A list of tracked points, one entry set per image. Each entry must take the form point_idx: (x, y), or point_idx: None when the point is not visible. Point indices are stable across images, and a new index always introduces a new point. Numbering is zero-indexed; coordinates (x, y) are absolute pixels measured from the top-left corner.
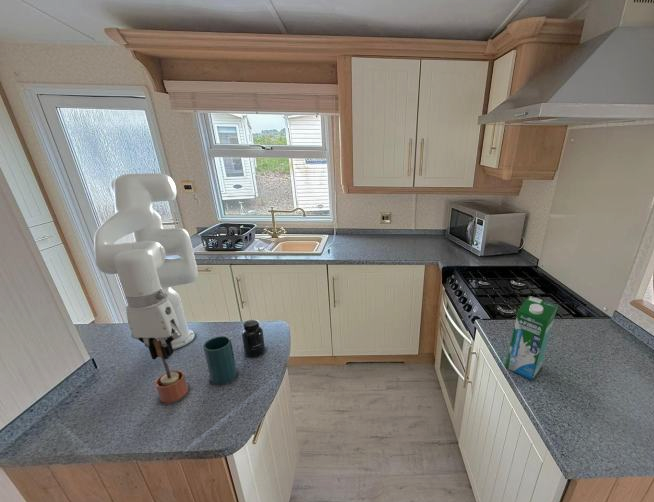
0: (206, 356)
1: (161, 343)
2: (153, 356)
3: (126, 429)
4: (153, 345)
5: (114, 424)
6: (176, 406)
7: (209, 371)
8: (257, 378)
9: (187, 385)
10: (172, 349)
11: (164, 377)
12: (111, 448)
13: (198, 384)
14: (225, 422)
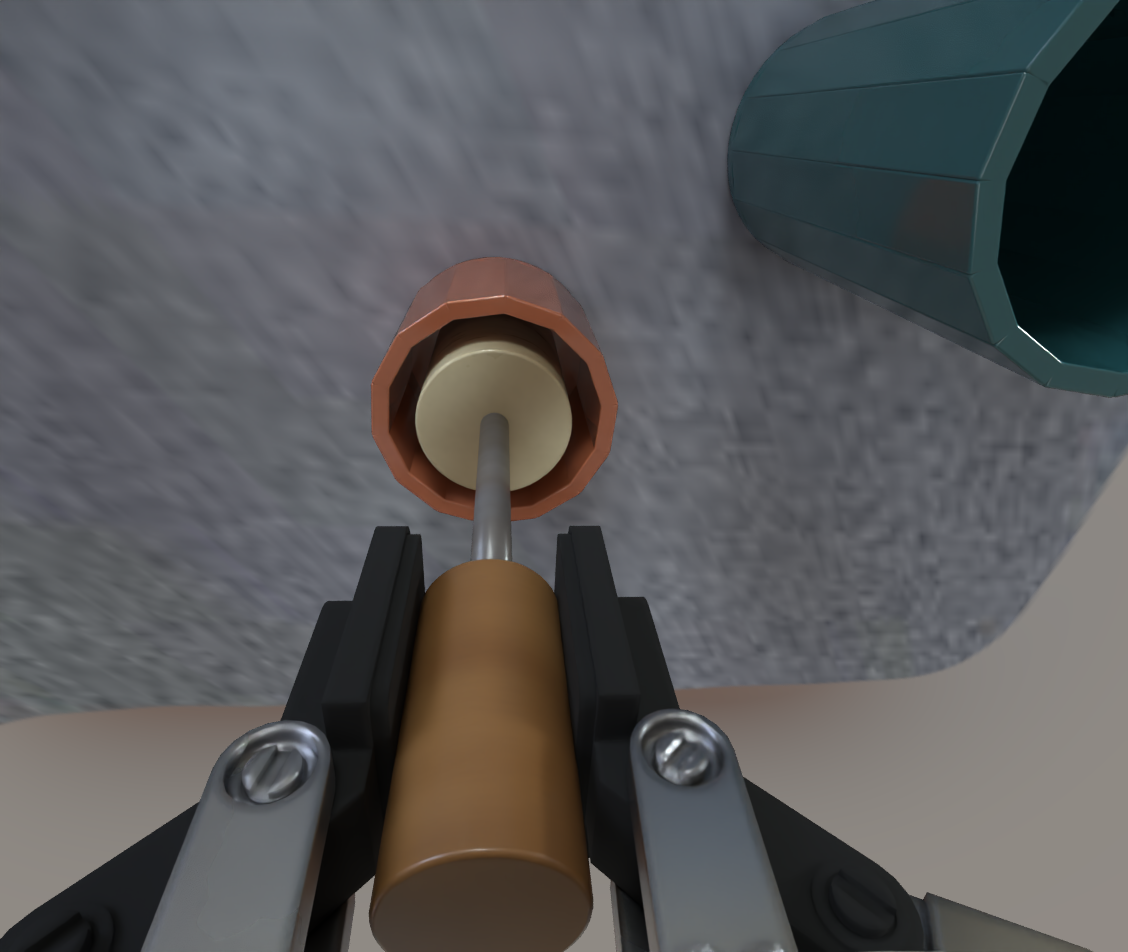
0: (925, 320)
1: (616, 942)
2: None
3: None
4: (380, 808)
5: (273, 581)
6: None
7: (805, 261)
8: None
9: (586, 317)
10: (652, 628)
11: (446, 428)
12: None
13: (634, 240)
14: (903, 572)
